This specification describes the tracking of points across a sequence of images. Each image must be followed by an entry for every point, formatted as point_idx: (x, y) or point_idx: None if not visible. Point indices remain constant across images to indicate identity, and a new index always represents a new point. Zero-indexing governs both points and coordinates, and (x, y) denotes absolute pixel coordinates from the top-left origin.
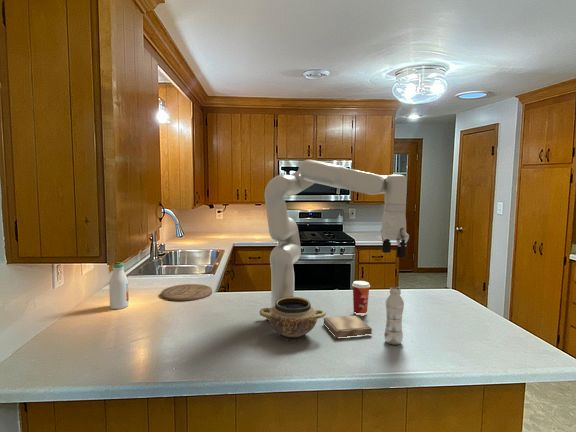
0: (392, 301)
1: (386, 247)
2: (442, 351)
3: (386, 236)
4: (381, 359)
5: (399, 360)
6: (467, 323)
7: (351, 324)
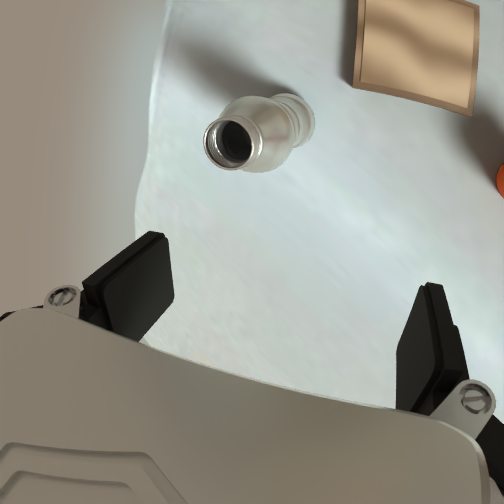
0: (226, 109)
1: (415, 348)
2: (217, 205)
3: (218, 406)
4: (216, 39)
5: (202, 78)
6: (324, 370)
7: (399, 43)
